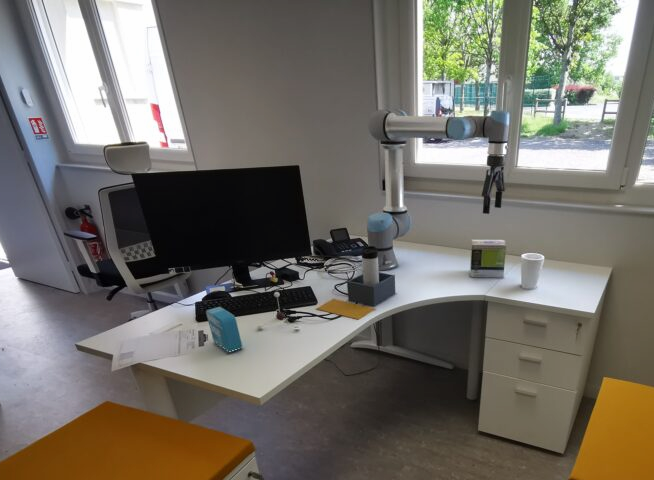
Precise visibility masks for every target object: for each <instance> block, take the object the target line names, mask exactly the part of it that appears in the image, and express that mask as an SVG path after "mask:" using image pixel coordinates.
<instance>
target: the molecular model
mask: <svg viewBox="0 0 654 480" xmlns="http://www.w3.org/2000/svg"><path fill="white" fill-rule="evenodd" d="M280 295H281V294H280V292H278V291H275V292H274V293H273V296H274V297H275V298H276V300H277V301H279V298H280ZM277 304H278V305H277V306H278V307H280V304H279V302H277ZM275 317H276V318H274V319H272V320H270V321H268V322H266V323H265V324H263V325H262V324H257V326H256V329H257V330H258V331H261V330H262V329H263V327H264V326H266V325H268V324H269V323H272V322H273V321H276V320H277V321H283V320H284V321H286V322H287V323H289V324H290V325H291V326H293V328H299V327H300V325H293V324H292V323H291V322H289V321H288V320H286V319H285V318H286V316H285V314H284V313H283V312H282V311H281V309H280V308H278V312H277V313H276V315H275ZM261 327H262V328H261ZM300 329H301V328H299V329H294V331H296V332H299V331H300Z"/></svg>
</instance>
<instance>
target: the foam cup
mask: <svg viewBox="0 0 654 480" xmlns="http://www.w3.org/2000/svg"><path fill="white" fill-rule="evenodd" d="M544 262H545V256H544V255H543V254H540V253H535V252H530V253H529V252H527V253H522V254H521V257H520V287H521V288H523V289H526V290H534V289H536V288H537V285H538V282H539V279H540V275H541V272H542V269H543V265H544V264H545V263H544Z"/></svg>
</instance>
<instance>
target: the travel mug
mask: <svg viewBox="0 0 654 480" xmlns="http://www.w3.org/2000/svg"><path fill="white" fill-rule="evenodd" d="M377 254H378V251H377V248H376V247H375V246H370V247H368V246H365V247H363V248H361V260H362V262H361V267H362V274H363V283H364V284H365V285H370V286H374V285H376V284H378V283H379V272H380V271H379V269H378V255H377Z"/></svg>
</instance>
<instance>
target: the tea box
mask: <svg viewBox="0 0 654 480" xmlns="http://www.w3.org/2000/svg"><path fill="white" fill-rule="evenodd" d="M470 245H471V247H470V264H469V265H470V277H471V278H504V277H505V276H504V275H505V265H506V263H505V262H506V252H507V251H506V250H507V244H506V240H505V239H471V244H470Z"/></svg>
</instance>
